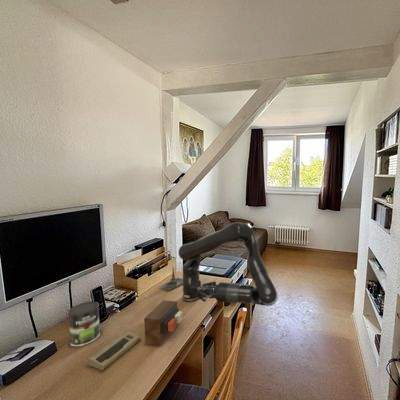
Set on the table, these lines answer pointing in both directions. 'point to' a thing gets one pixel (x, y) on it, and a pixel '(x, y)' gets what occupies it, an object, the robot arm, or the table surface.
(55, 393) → the table surface
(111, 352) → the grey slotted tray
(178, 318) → the cream key
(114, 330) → the table surface
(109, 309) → the calculator
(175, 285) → the eiffel tower figurine
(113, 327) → the table surface
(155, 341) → the key block
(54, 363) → the table surface
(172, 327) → the terracotta key
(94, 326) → the coffee can
